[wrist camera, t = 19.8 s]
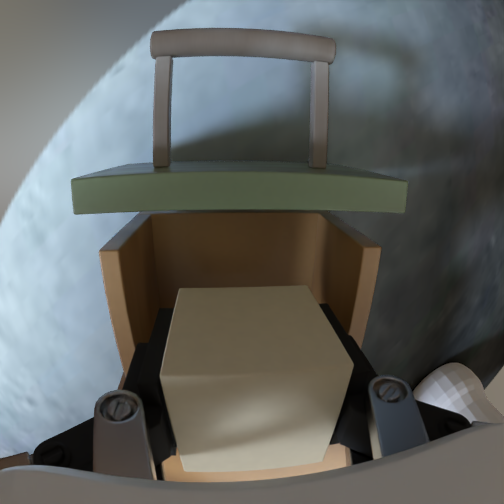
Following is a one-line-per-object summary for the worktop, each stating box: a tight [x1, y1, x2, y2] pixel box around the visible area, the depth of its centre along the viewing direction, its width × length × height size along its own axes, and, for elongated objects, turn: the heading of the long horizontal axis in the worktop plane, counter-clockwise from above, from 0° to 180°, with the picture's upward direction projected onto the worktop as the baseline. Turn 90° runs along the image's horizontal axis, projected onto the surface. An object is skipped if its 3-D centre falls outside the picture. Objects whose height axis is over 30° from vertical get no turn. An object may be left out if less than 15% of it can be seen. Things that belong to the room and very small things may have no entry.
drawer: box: [71, 28, 408, 377], centre depth 13 cm, size 19×11×7 cm, turn 179°
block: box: [160, 285, 354, 472], centre depth 9 cm, size 4×4×4 cm
